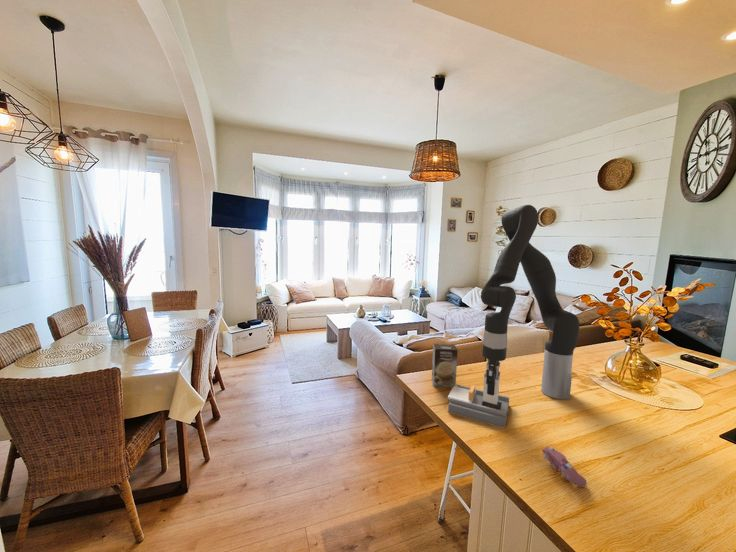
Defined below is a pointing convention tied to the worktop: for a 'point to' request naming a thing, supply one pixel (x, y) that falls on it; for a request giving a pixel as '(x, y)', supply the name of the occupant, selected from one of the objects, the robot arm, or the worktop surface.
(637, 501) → the worktop surface
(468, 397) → the shutter
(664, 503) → the worktop surface
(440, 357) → the coffee box
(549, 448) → the pink curved piece
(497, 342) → the robot arm
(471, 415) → the grey sliding panel box
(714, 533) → the worktop surface
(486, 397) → the plug
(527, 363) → the worktop surface
